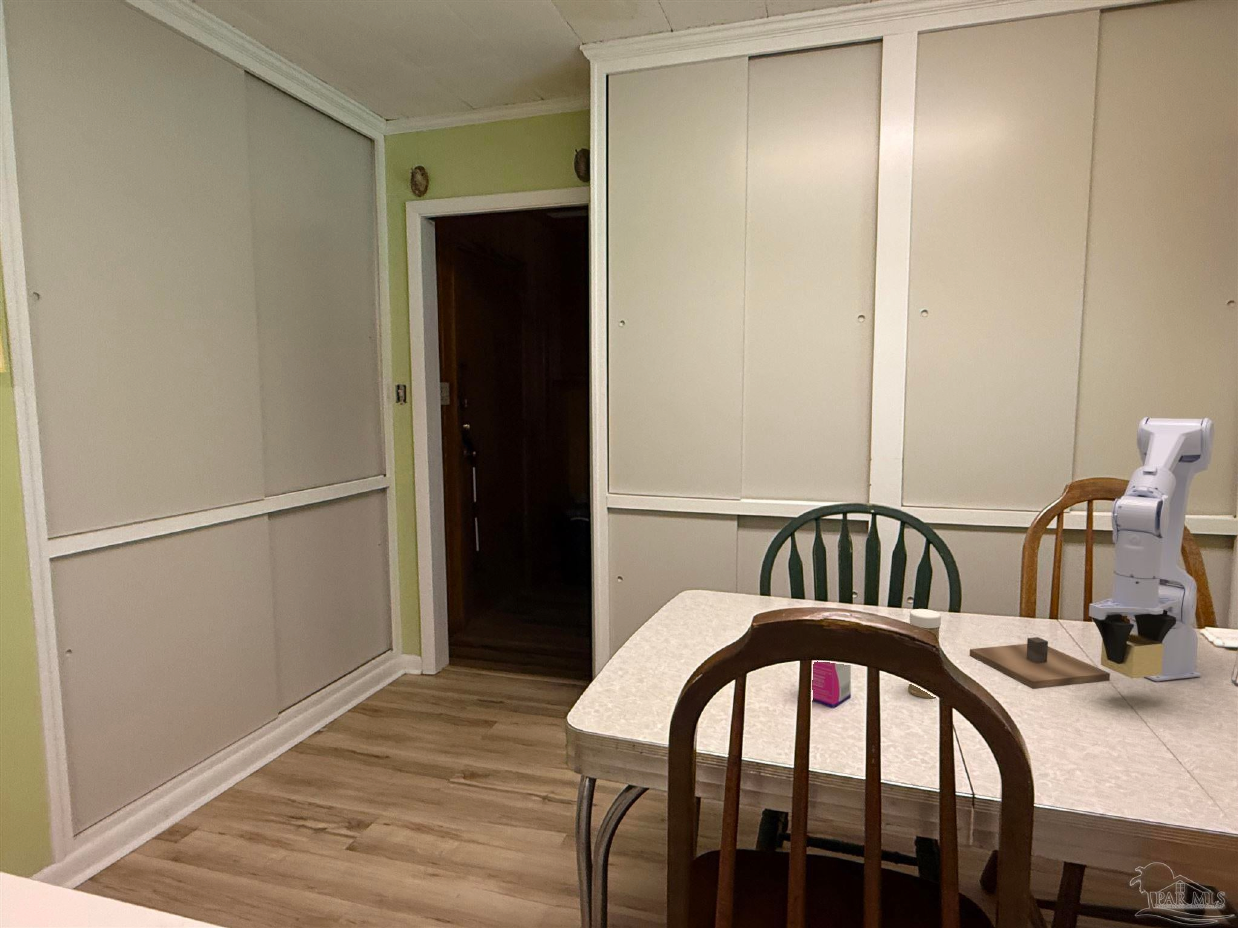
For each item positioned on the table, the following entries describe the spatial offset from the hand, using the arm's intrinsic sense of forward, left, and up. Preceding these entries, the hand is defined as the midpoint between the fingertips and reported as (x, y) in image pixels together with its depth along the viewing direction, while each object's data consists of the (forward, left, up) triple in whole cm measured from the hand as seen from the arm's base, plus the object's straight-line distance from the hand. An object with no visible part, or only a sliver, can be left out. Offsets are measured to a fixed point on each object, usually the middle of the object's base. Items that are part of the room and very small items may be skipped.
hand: (1130, 659), depth 109 cm
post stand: (+3, -15, -7) cm, 17 cm away
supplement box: (+45, -12, -7) cm, 47 cm away
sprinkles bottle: (+29, -10, -7) cm, 32 cm away
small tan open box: (0, 0, -2) cm, 2 cm away
